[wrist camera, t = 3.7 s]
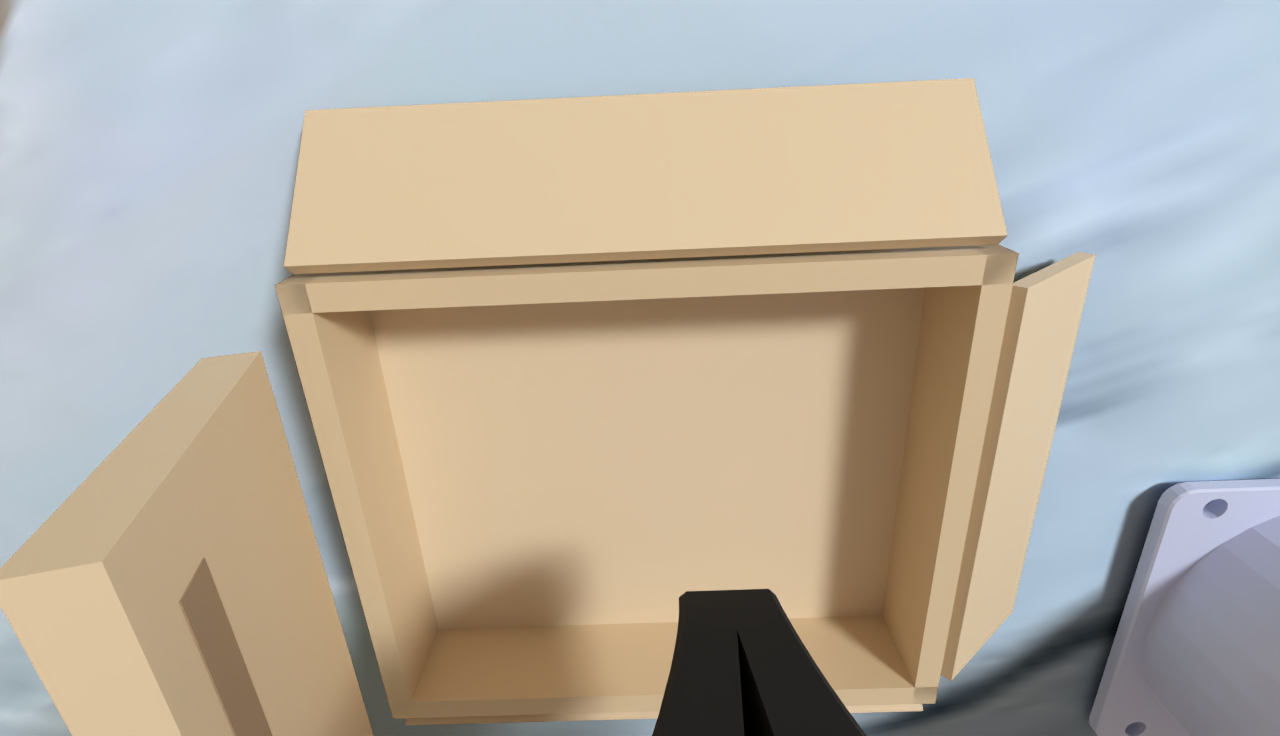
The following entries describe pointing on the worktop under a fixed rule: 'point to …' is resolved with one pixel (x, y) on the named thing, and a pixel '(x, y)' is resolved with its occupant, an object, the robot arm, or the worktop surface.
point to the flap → (188, 580)
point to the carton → (671, 385)
